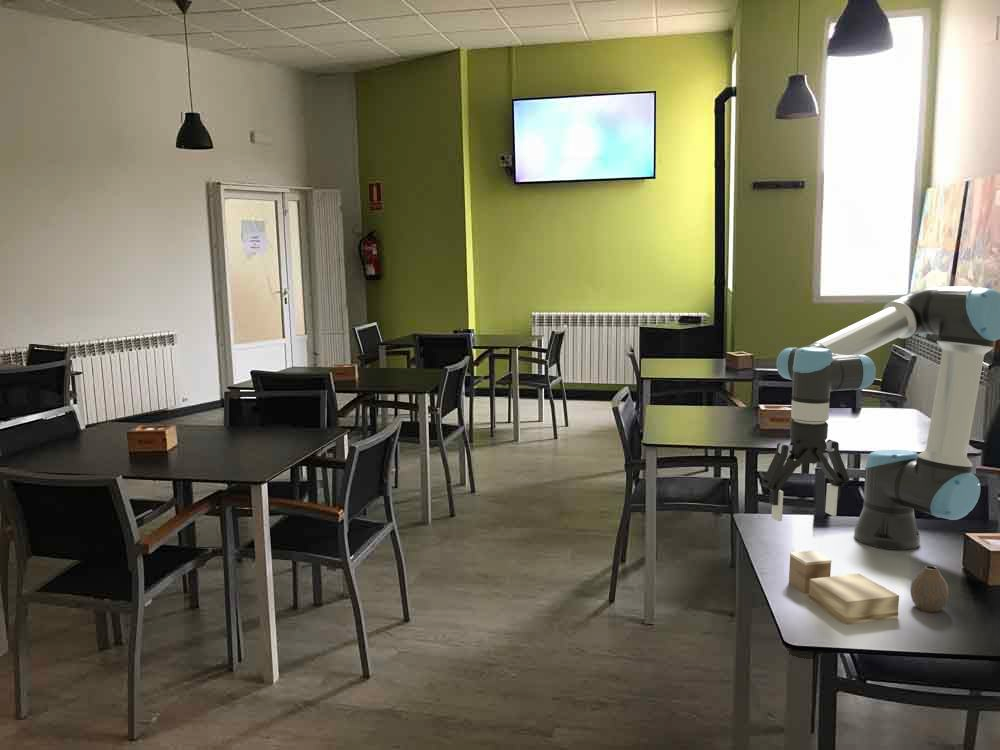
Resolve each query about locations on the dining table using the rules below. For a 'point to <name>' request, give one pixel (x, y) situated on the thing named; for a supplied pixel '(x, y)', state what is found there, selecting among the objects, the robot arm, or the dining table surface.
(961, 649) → the dining table surface
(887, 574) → the dining table surface
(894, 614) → the beech base
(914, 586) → the vase
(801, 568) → the pale wooden block
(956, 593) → the dining table surface
